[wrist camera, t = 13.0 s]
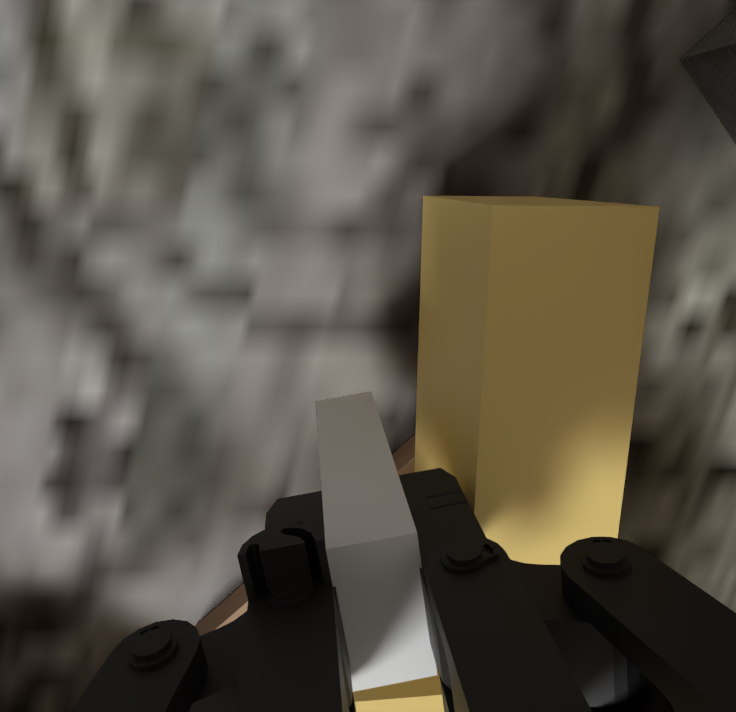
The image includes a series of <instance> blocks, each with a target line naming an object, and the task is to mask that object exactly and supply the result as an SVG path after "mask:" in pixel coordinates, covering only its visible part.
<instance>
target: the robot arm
mask: <svg viewBox="0 0 736 712" xmlns="http://www.w3.org/2000/svg"><path fill="white" fill-rule="evenodd" d="M315 403H316V417H317V431H318V446H319V460H320V474H321V488H322V491H319V492H313V493H308V494H302V495H297V496H291V497H286V498H280V499H277V500H276V502H275V503H274V504H273V506H272V507H271V508H270V510H269V511H268V512H267V514H266V524H265V530H263V531H261V532H259V533H258V534H256V535H254V536H252V537H251V538H250V539H249V540H248V541H247V542H245V543H244V544H243V545H242V547H241V549H240V551H239V553H238V555H237V556H238V560H239V564H240V569H241V573H242V577H243V581H244V585H245V590H246V594H247V598H248V607H247V611H246V612H245V613H244V614H242V615H241V616H239V617H238V618H237V619H235V620H234V621H232V622H230V623H228V624H226V625H224V626H222V627H220V628H218V629H216V630H213V631H211V632H208V633H206V634H204V635H201V636H199V633H198V630H197V628H196V627H195V626H193V625H192V624H190V623H189V622H187V621H181V620H166V621H160V622H155V623H153V624H150V625H148V626H145V627H143V628H140V629H138V630H137V631H135V632H134V633H132V634H131V635H129V636H128V637H126V638H125V639H123V640H122V641H121V643H120V644H119V645H118V646H117V647H116V648H115V649H114V650H113V651H112V652H111V654H110V655H109V657H108V658H107V660H106V661H105V662H104V664H103V665H102V667H101V668H100V670H99V671H98V673H97V674H96V676H95V677H94V678H93V680H92V681H91V683H90V684H89V686H88V687H87V689H86V690H85V692H84V693H83V694H82V696H81V697H80V699H79V700H78V702H77V703H76V705H75V706H74V708H73V709H72V710H71V712H356V706H355V701H354V696H353V692H355V691H360V690H365V689H370V688H375V687H380V686H385V685H390V684H396V683H401V682H406V681H411V680H416V679H421V678H426V677H431V676H436V675H437V670H438V673H439V677H440V684H441V691H442V698H443V705H444V712H736V613H735V612H733V611H732V610H730V609H729V608H728V607H726V606H725V605H723V604H722V603H720V602H719V601H717V600H716V599H715V598H713V597H712V596H710V595H709V594H707V593H706V592H704V591H703V590H702V589H700V588H699V587H697V586H696V585H694V584H693V583H691V582H690V581H689V580H687V579H686V578H684V577H683V576H681V575H680V574H679V573H677V572H676V571H674V570H673V569H671V568H670V567H668V566H667V565H666V564H664V563H663V562H661V561H660V560H658V559H657V558H655V557H654V556H653V555H651V554H650V553H648V552H647V551H645V550H644V549H642V548H641V547H639V546H637V545H635V544H633V543H631V542H629V541H626V540H622V539H617V538H613V537H589V538H585V539H580V540H577V541H575V542H573V543H572V544H570V545H568V546H566V547H565V549H564V550H563V552H562V553H561V555H560V565H541V564H528V563H522V562H518V561H514V560H511V559H510V558H509V557H508V555H507V553H506V551H505V550H504V549H503V548H502V547H501V546H500V545H499V544H498V543H496V542H494V541H492V540H490V539H487V538H486V536H485V534H484V532H483V530H482V528H481V526H480V524H479V522H478V520H477V518H476V516H475V514H474V512H473V510H472V508H471V506H470V504H468V500H467V499H466V497H465V495H464V493H463V492H462V489H461V487H460V485H459V483H458V481H457V479H456V477H454V476H453V475H451V474H450V473H448V472H446V471H445V470H443V469H442V468H436V469H430V470H425V471H419V472H414V473H408V474H403V475H398V472H397V469H396V466H395V463H394V460H393V457H392V454H391V451H390V448H389V445H388V442H387V439H386V436H385V433H384V429H383V426H382V423H381V420H380V417H379V414H378V411H377V408H376V405H375V402H374V399H373V396H372V393H371V392H367V393H361V394H355V395H349V396H343V397H338V398H332V399H326V400H320V401H315ZM435 662H436V663H435ZM436 666H437V670H436Z"/></svg>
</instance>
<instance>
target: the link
mask: <svg viewBox="0 0 736 712" xmlns="http://www.w3.org/2000/svg"><path fill="white" fill-rule="evenodd" d="M659 208H660V207H659V206H647V205H635V204H622V203H610V202H598V201H585V200H573V199H560V198H548V197H536V196H423V218H422V249H421V280H420V311H419V342H418V373H417V404H416V435H415V466H414V472H419V471H425V470H430V469H436V468H442V469H443V470H445V471H446V472H448V473H450V474H451V475H453V476H454V477H456V479H457V481H458V483H459V485H460V487H461V489H462V492H463V493H464V495H465V497H466V499H467V500H468V504H470V506H471V508H472V510H473V512H474V514H475V516H476V518H477V520H478V522H479V524H480V526H481V528H482V530H483V532H484V534H485V536H486V538H487V539H490V540H492V541H494V542H496V543H498V544H499V545H500V546H501V547H502V548H503V549H504V550H505V551H506V553H507V555H508V557H509V558H510V559H511V560H514V561H518V562H522V563H528V564H541V565H560V555H561V553H562V552H563V550H564V549H565V547H566V546H568V545H570V544H572V543H573V542H575V541H577V540H580V539H585V538H589V537H613V538H618V531H619V523H620V515H621V507H622V499H623V491H624V483H625V475H626V468H627V460H628V452H629V444H630V436H631V428H632V420H633V412H634V405H635V397H636V389H637V381H638V373H639V365H640V357H641V350H642V342H643V334H644V326H645V318H646V310H647V302H648V294H649V287H650V279H651V271H652V263H653V255H654V247H655V239H656V231H657V224H658V216H659ZM435 663H436V662H435ZM436 670H437V666H436ZM353 696H354V701H355V706H356V712H444V705H443V698H442V691H441V684H440V677H439V673H438V670H437V675H436V676H431V677H426V678H421V679H416V680H411V681H406V682H401V683H396V684H390V685H385V686H380V687H375V688H370V689H365V690H360V691H355V692H353Z"/></svg>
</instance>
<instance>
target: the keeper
mask: <svg viewBox="0 0 736 712" xmlns="http://www.w3.org/2000/svg"><path fill="white" fill-rule="evenodd" d="M680 60H681V62H682V63H683V65H684V66H685V68H686V69H687V71H688V72H689V74H690V75H691V77H692V78H693V80H694V81H695V83H696V84H697V86H698V87H699V89H700V91H701V92H702V94H703V95H704V97H705V98H706V100H707V101H708V103H709V104H710V106H711V107H712V109H713V110H714V112H715V113H716V115H717V116H718V118H719V119H720V121H721V122H722V124H723V125H724V127H725V128H726V130H727V131H728V133H729V135H730V136H731V138H732V139H733V141H734V142H735V144H736V9H735V10H734V11H732V12H731V13H730V14H729V15H728V16H727V17H726V18H725V19H724V20H722V21H721V22H720V23H719V24H718V25H717V26H716V27H715V28H714V29H713V30H711V31H710V32H709V33H708V34H707V35H706V36H705V37H704V38H703V39H701V40H700V41H699V42H698V43H697V44H696V45H695V46H694V47H693V48H692V49H690V50H689V51H688V52H687V53H686V54H685V55H684V56H683V57H682V58H681V59H680Z"/></svg>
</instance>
